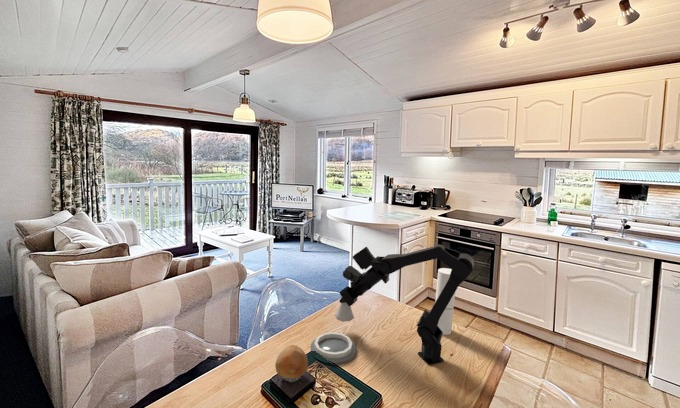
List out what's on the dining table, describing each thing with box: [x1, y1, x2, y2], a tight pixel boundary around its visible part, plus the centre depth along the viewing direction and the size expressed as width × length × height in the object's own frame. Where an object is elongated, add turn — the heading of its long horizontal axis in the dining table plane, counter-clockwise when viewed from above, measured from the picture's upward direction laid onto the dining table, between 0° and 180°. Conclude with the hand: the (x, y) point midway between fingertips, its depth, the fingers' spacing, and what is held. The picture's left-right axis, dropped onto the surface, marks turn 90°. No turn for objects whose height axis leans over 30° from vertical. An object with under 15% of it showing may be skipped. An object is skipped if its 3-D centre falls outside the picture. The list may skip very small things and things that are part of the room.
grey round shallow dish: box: [310, 331, 357, 365], centre depth 109 cm, size 16×16×3 cm
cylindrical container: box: [434, 267, 456, 336], centre depth 124 cm, size 7×7×25 cm
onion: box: [274, 344, 309, 378], centre depth 94 cm, size 10×10×10 cm
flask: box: [334, 302, 355, 322], centre depth 121 cm, size 7×7×10 cm
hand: (341, 300), depth 121 cm, fingers closed on flask, 3 cm apart
